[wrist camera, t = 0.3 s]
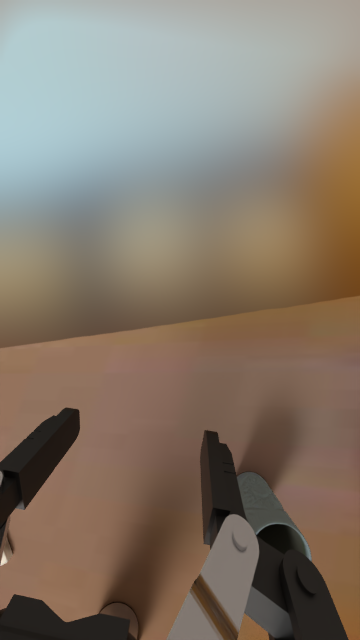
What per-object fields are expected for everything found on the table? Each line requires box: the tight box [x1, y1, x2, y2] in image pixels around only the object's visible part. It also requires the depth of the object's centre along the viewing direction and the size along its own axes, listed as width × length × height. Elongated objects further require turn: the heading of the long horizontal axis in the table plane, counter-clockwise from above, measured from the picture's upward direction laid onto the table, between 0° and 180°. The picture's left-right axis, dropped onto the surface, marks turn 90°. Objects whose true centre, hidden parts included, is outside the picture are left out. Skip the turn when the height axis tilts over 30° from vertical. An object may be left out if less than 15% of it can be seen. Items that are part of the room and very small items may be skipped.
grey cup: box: [237, 472, 312, 562], centre depth 32 cm, size 10×10×12 cm
